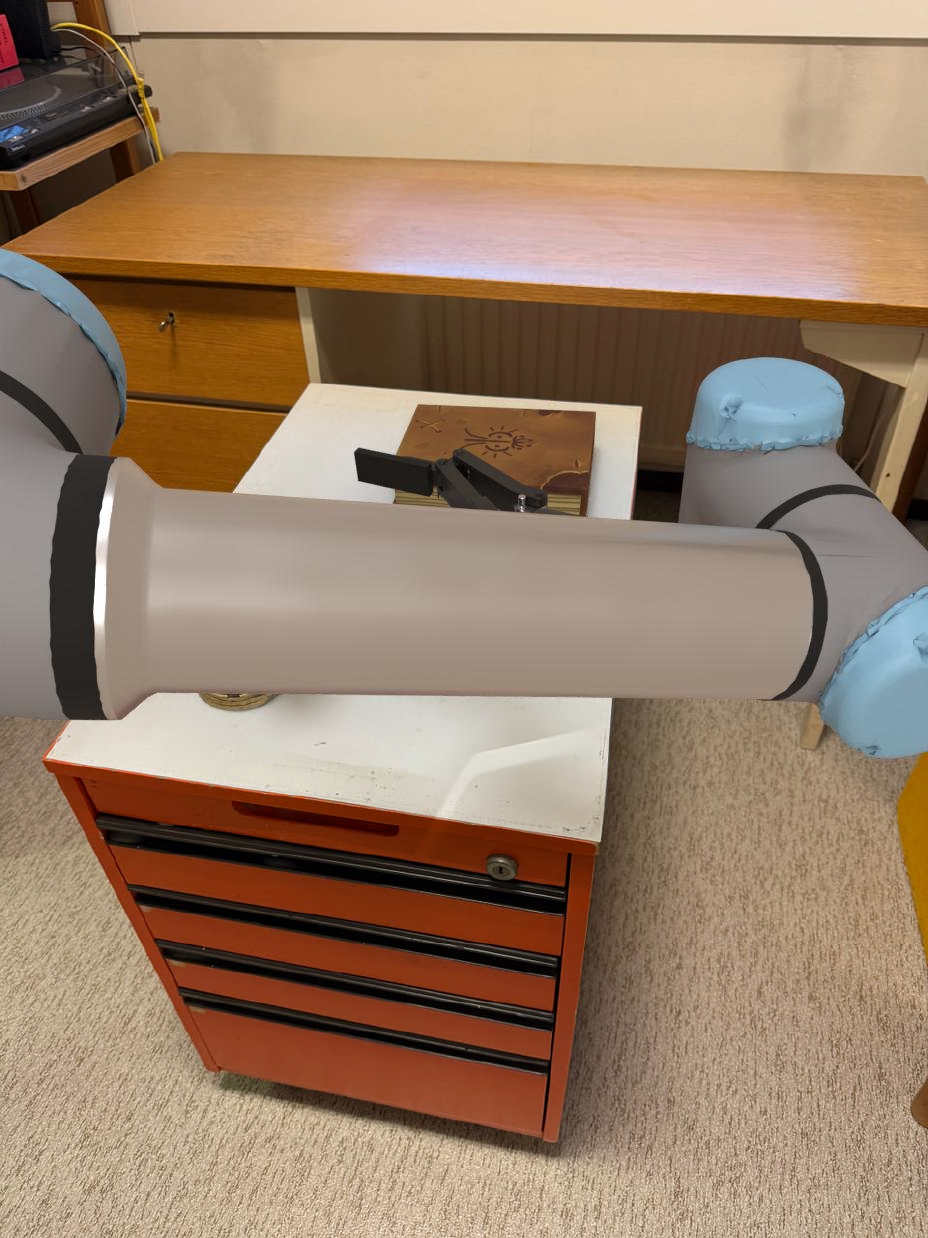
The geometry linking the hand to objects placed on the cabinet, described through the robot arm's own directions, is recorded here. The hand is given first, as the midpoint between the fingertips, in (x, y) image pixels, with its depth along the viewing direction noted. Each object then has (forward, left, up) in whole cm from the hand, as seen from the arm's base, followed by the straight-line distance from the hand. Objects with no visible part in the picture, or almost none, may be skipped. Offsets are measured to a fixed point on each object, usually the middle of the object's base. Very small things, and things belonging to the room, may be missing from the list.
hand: (312, 508), depth 66 cm
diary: (+24, +34, -23) cm, 47 cm away
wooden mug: (-7, +6, -23) cm, 24 cm away
